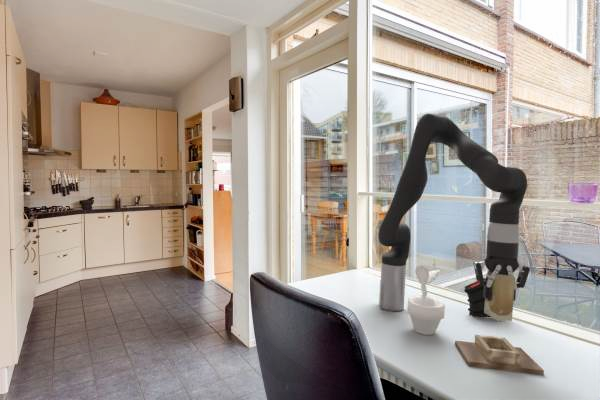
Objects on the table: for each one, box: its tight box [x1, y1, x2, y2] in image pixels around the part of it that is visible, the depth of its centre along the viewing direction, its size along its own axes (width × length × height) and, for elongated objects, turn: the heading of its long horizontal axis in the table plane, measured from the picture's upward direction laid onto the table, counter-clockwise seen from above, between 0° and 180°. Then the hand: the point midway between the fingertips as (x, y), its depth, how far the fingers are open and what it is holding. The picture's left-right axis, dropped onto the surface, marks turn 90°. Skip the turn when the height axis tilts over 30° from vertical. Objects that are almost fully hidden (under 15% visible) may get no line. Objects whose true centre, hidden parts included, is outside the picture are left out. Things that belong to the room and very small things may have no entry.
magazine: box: [463, 277, 491, 318], centre depth 130 cm, size 4×13×15 cm, turn 92°
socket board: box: [454, 334, 545, 376], centre depth 96 cm, size 18×13×4 cm
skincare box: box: [484, 270, 516, 322], centre depth 96 cm, size 6×4×12 cm
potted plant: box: [406, 259, 446, 336], centre depth 113 cm, size 13×12×25 cm
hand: (498, 300), depth 96 cm, fingers closed on skincare box, 5 cm apart
